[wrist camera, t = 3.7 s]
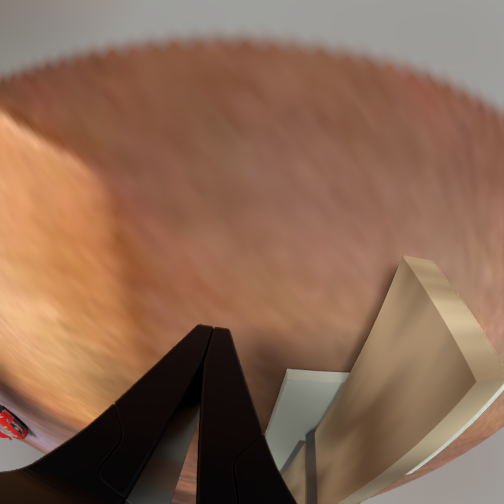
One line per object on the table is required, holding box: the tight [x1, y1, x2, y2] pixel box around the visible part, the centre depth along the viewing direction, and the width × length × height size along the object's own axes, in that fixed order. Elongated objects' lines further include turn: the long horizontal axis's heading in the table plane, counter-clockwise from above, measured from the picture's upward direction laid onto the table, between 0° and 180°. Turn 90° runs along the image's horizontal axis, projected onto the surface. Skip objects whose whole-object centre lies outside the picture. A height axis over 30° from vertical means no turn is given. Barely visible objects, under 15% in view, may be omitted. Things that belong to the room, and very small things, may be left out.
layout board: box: [265, 369, 504, 475], centre depth 16 cm, size 16×16×1 cm
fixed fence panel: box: [282, 443, 307, 504], centre depth 15 cm, size 10×2×7 cm, turn 173°
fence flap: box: [305, 256, 504, 504], centre depth 9 cm, size 13×2×6 cm, turn 173°
